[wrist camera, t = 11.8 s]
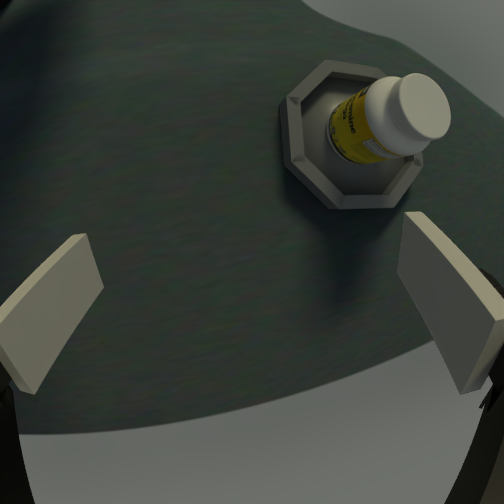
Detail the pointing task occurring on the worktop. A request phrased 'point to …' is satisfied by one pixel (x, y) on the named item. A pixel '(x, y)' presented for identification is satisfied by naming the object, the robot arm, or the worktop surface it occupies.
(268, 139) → the worktop surface
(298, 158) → the octagonal tray
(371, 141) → the pill bottle
